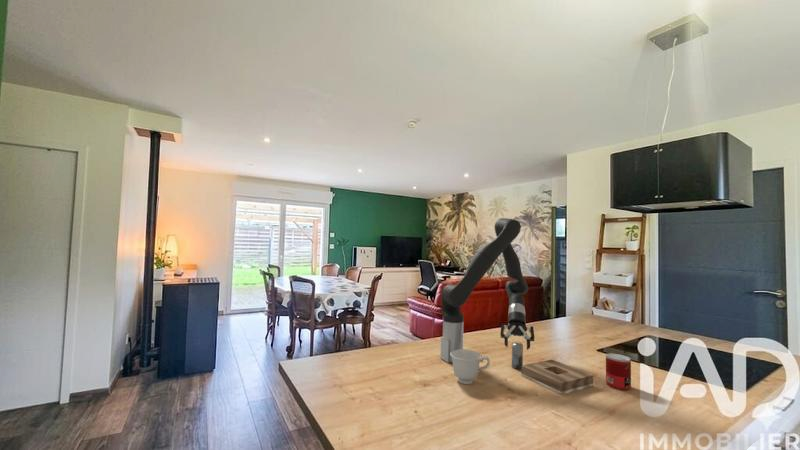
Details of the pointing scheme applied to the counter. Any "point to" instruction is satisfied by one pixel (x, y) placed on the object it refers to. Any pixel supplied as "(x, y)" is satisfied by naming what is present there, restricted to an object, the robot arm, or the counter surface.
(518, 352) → the post
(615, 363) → the canned food
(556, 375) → the socket base
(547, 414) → the counter surface
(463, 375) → the teacup
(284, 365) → the counter surface
